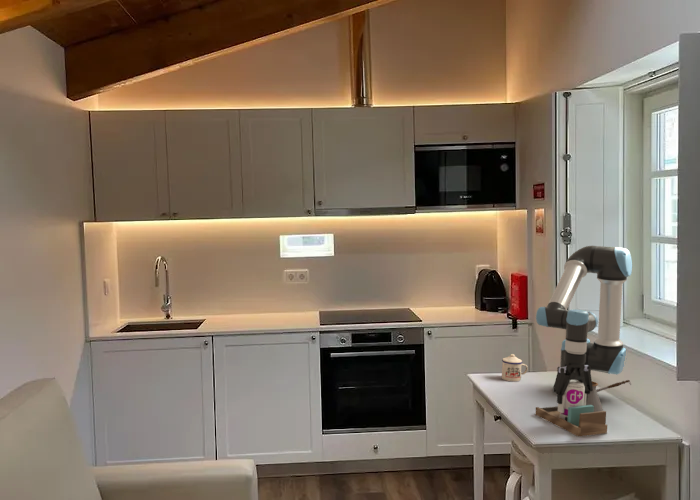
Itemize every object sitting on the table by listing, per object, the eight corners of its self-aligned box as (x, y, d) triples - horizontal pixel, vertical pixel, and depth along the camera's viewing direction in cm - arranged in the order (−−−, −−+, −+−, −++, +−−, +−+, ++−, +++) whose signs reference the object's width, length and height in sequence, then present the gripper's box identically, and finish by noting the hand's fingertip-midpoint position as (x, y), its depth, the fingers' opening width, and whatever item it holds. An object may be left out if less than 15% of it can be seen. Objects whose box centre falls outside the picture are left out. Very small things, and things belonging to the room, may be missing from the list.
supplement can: (584, 426, 237) (586, 386, 236) (560, 423, 239) (563, 383, 237) (580, 418, 245) (583, 380, 244) (558, 416, 247) (560, 378, 245)
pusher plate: (567, 425, 236) (568, 407, 235) (589, 423, 240) (591, 404, 239) (569, 427, 235) (571, 408, 234) (592, 424, 238) (593, 406, 238)
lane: (535, 414, 251) (536, 394, 250) (562, 411, 256) (563, 392, 255) (578, 436, 229) (579, 414, 228) (606, 433, 234) (608, 411, 233)
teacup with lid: (503, 381, 296) (505, 356, 295) (498, 376, 305) (500, 351, 304) (529, 382, 297) (531, 357, 296) (524, 376, 306) (525, 352, 305)
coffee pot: (575, 418, 248) (577, 380, 247) (568, 409, 260) (571, 372, 258) (633, 423, 246) (636, 384, 245) (623, 413, 257) (626, 376, 256)
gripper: (591, 347, 247) (587, 405, 249) (544, 351, 239) (541, 410, 241) (606, 352, 240) (602, 411, 242) (558, 355, 232) (554, 416, 234)
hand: (571, 410), depth 241 cm, fingers open, 9 cm apart
